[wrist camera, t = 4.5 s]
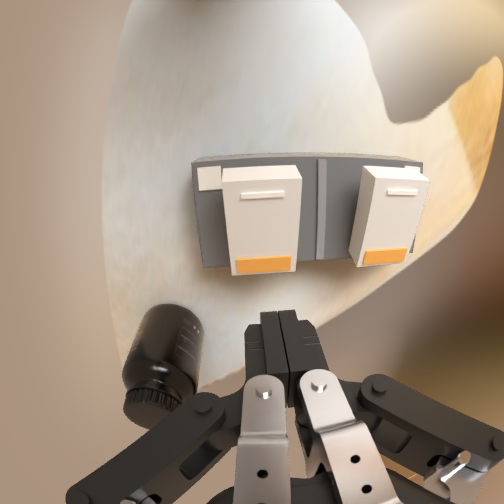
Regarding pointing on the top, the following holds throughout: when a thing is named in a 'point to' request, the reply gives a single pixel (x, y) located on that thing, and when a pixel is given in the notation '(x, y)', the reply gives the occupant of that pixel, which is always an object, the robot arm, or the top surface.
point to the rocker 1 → (262, 218)
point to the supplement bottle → (162, 364)
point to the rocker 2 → (387, 215)
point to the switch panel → (312, 200)
